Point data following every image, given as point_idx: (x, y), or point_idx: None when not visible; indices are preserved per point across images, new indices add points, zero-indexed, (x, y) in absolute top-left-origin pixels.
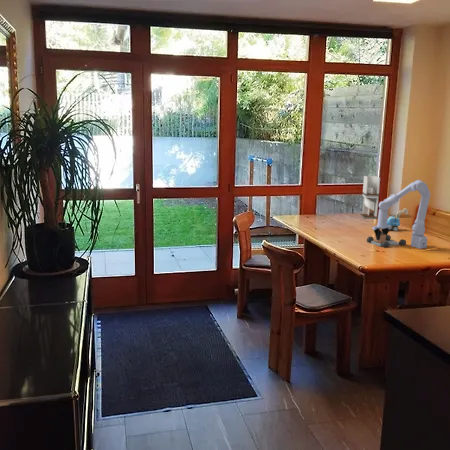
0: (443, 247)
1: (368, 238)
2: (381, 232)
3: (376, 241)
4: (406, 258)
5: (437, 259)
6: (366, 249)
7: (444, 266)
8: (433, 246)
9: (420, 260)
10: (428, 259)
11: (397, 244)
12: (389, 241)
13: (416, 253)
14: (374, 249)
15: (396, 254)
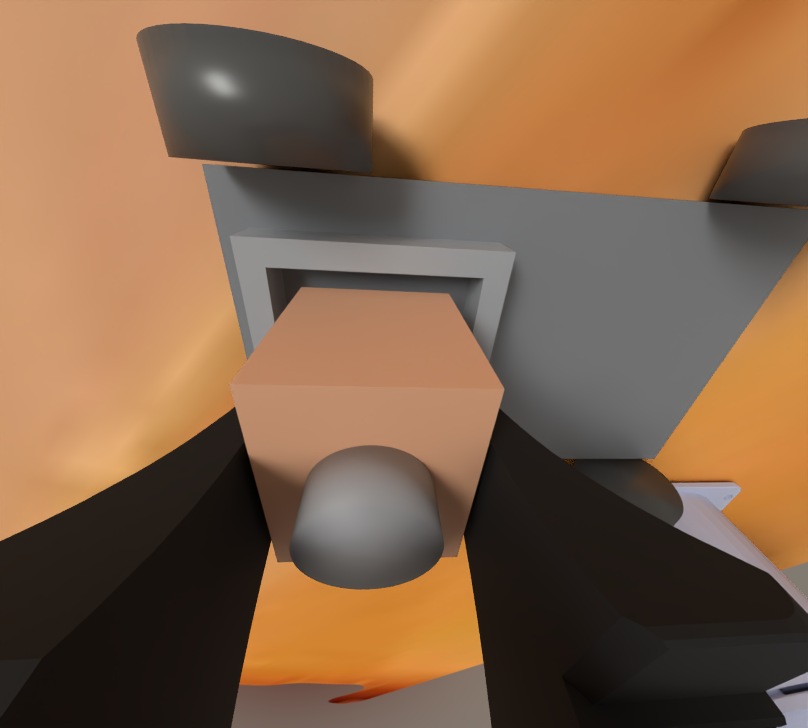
0: (803, 557)
1: (159, 113)
2: (379, 565)
3: (373, 267)
4: (292, 633)
5: (453, 657)
6: (31, 420)
7: (377, 695)
8: (796, 529)
9: (346, 656)
10: (407, 653)
11: (572, 447)
12: (673, 288)
13: (461, 595)
14: (159, 449)
15: (289, 584)
